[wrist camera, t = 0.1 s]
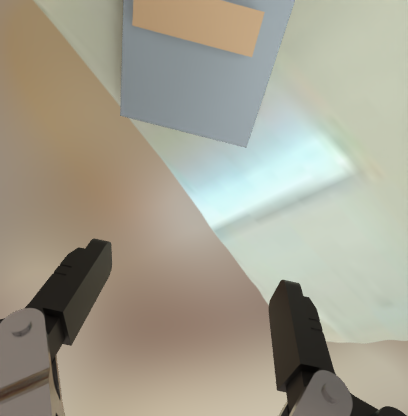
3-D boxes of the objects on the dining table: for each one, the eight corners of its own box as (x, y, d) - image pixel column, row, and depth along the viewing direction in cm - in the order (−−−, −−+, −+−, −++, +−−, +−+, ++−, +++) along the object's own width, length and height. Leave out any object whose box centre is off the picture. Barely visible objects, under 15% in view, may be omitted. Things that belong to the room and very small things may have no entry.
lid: (134, -181, 18) (98, -257, 14) (333, -124, 19) (365, -178, 14) (124, 113, 30) (103, 127, 25) (246, 144, 31) (247, 163, 26)
